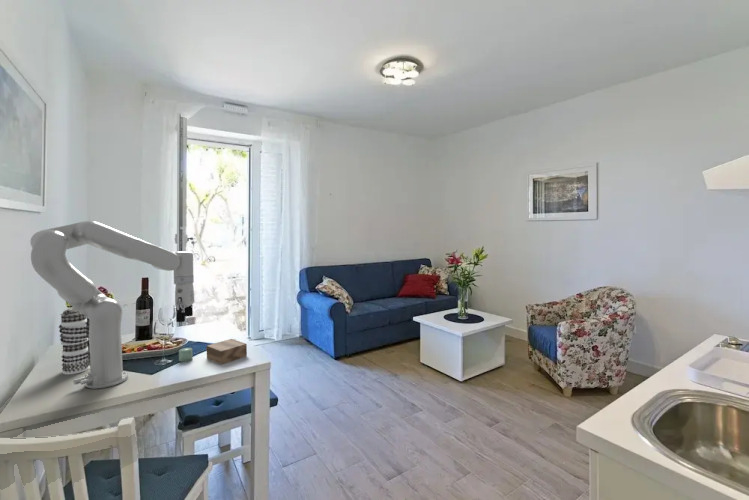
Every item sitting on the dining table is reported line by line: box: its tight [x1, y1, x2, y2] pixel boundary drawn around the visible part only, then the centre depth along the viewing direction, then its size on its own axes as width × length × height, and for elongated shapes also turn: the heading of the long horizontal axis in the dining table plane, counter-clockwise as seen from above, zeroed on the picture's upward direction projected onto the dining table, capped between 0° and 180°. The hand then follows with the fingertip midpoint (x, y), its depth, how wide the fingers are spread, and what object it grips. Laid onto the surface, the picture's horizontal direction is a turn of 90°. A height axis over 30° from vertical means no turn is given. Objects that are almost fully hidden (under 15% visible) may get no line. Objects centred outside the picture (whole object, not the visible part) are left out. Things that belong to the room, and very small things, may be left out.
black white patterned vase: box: [58, 307, 90, 375], centre depth 140 cm, size 9×9×25 cm
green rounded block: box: [178, 347, 194, 363], centre depth 152 cm, size 5×5×4 cm
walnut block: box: [206, 338, 248, 365], centre depth 155 cm, size 12×12×6 cm
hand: (184, 318), depth 151 cm, fingers open, 9 cm apart
